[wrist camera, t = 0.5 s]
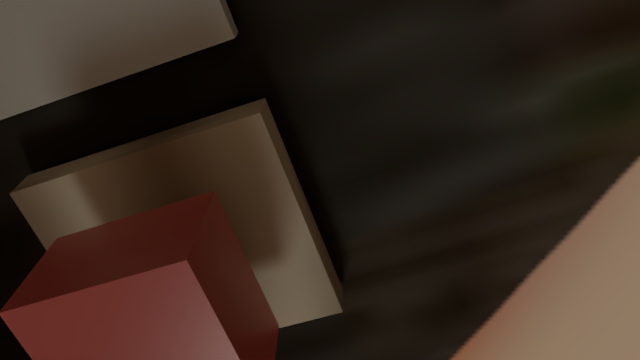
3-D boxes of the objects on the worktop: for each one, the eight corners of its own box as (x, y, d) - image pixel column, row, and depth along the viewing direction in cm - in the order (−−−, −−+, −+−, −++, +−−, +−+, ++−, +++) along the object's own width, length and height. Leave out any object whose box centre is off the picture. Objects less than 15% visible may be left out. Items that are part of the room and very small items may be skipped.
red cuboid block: (135, 362, 23) (98, 449, 20) (56, 238, 21) (-2, 313, 17) (279, 326, 22) (267, 411, 19) (214, 190, 20) (186, 260, 16)
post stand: (133, 343, 27) (77, 470, 22) (28, 175, 24) (-74, 273, 18) (342, 289, 26) (343, 410, 20) (264, 98, 22) (237, 179, 16)
